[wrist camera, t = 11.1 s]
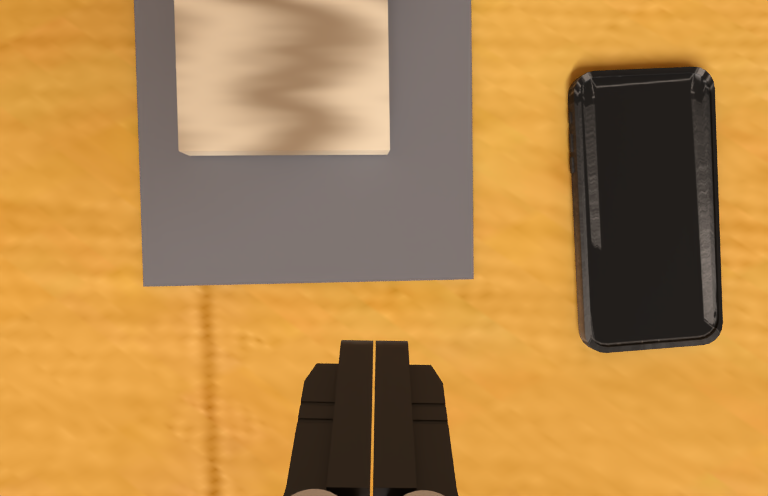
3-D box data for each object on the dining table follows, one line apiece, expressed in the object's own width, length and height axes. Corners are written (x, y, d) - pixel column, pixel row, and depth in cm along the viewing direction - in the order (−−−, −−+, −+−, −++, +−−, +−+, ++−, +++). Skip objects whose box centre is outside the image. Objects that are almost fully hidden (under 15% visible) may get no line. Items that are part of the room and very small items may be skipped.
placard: (387, 155, 27) (383, -121, 26) (389, 149, 25) (385, -147, 24) (190, 156, 26) (181, -128, 26) (178, 150, 24) (169, -155, 24)
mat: (468, -122, 27) (469, -128, 27) (471, 278, 28) (473, 279, 27) (132, -134, 26) (129, -139, 25) (146, 285, 27) (143, 286, 26)
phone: (713, 65, 28) (723, 343, 28) (699, 72, 29) (709, 339, 29) (570, 72, 27) (584, 354, 28) (561, 78, 28) (574, 350, 29)
